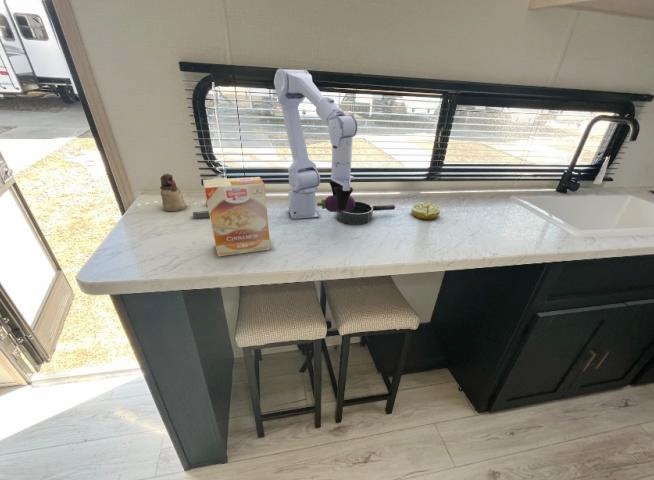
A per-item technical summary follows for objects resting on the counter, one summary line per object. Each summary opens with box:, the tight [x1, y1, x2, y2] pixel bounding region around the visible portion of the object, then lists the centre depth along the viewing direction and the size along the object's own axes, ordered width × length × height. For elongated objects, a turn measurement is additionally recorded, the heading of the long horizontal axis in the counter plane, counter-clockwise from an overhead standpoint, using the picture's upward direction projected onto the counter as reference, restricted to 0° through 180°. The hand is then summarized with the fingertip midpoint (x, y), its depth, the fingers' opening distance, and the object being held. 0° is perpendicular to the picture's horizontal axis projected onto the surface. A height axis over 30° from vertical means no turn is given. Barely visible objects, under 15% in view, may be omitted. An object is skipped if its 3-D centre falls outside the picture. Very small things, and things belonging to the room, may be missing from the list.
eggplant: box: [316, 195, 356, 213], centre depth 106 cm, size 12×5×5 cm, turn 106°
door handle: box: [192, 200, 210, 219], centre depth 118 cm, size 3×20×16 cm
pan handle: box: [371, 204, 396, 212], centre depth 124 cm, size 10×2×2 cm, turn 108°
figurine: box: [159, 172, 186, 212], centre depth 116 cm, size 7×7×12 cm
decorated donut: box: [410, 201, 441, 220], centre depth 127 cm, size 10×11×4 cm
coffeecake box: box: [202, 176, 271, 258], centre depth 93 cm, size 15×7×20 cm, turn 114°
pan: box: [336, 200, 374, 225], centre depth 121 cm, size 13×13×4 cm
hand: (339, 206), depth 106 cm, fingers closed on eggplant, 5 cm apart
